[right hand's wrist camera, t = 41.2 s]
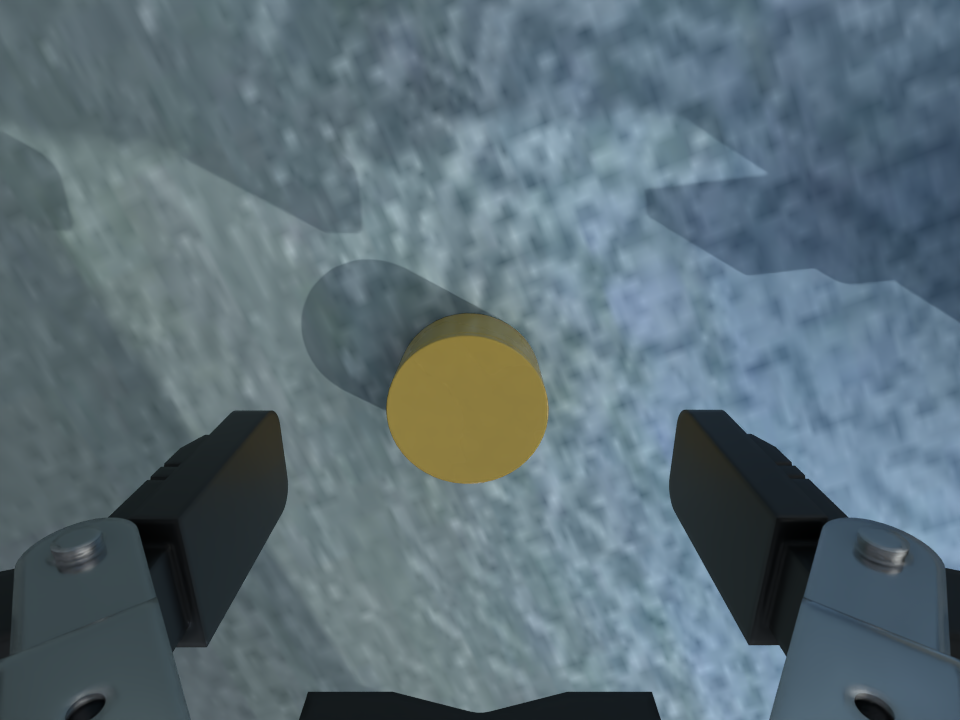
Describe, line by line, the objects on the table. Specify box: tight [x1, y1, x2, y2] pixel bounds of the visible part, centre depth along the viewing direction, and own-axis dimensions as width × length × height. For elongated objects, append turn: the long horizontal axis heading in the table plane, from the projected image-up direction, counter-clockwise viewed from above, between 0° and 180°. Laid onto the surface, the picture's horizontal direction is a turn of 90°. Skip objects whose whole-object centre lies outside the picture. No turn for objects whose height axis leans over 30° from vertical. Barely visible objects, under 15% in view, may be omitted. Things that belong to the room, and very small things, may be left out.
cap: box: [386, 313, 549, 484], centre depth 17 cm, size 5×5×2 cm
